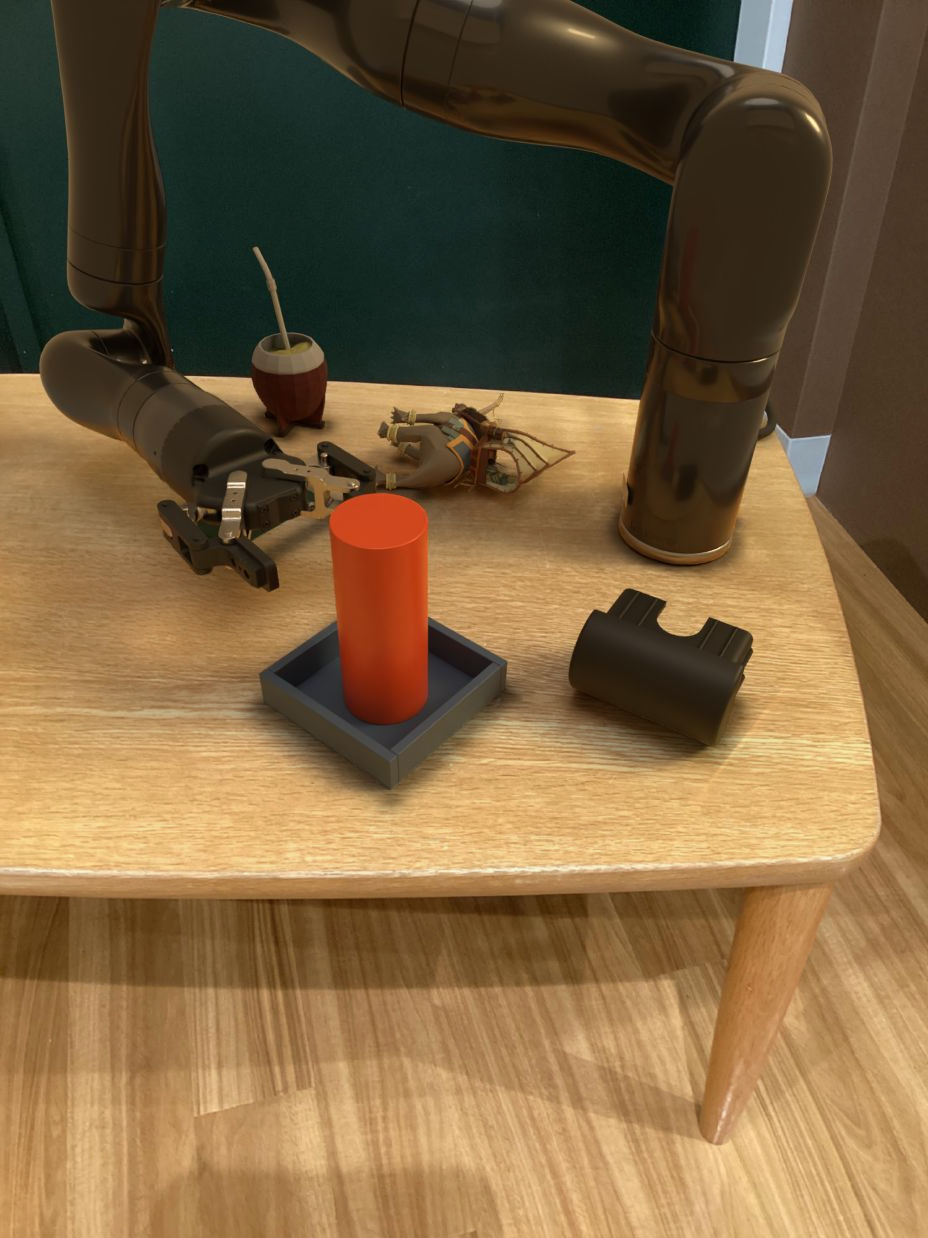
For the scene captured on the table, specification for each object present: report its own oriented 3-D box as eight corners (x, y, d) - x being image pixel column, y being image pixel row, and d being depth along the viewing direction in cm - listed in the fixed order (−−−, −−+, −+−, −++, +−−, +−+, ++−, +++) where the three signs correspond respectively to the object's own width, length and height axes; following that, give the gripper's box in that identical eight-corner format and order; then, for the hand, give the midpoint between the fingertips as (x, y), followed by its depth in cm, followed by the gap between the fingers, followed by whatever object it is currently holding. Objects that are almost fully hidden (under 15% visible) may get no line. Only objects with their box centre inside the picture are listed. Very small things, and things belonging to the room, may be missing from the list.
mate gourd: (312, 445, 87) (297, 286, 77) (237, 430, 88) (213, 273, 79) (344, 409, 92) (334, 257, 82) (272, 396, 94) (254, 245, 84)
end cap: (561, 711, 61) (571, 634, 57) (605, 650, 66) (618, 575, 61) (705, 773, 57) (728, 697, 53) (741, 704, 62) (765, 628, 58)
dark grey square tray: (382, 621, 68) (380, 589, 66) (505, 693, 62) (507, 660, 60) (263, 706, 61) (258, 673, 59) (390, 795, 56) (389, 762, 54)
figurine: (412, 362, 89) (587, 384, 86) (411, 421, 92) (579, 443, 90) (351, 455, 73) (563, 485, 71) (353, 521, 76) (555, 551, 74)
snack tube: (383, 654, 64) (376, 481, 55) (445, 691, 62) (448, 517, 53) (325, 697, 61) (307, 522, 52) (388, 738, 58) (380, 561, 49)
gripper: (102, 435, 62) (223, 546, 53) (284, 377, 69) (418, 466, 60) (126, 528, 67) (241, 644, 58) (293, 464, 74) (419, 558, 65)
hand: (331, 553), depth 59 cm, fingers open, 8 cm apart
